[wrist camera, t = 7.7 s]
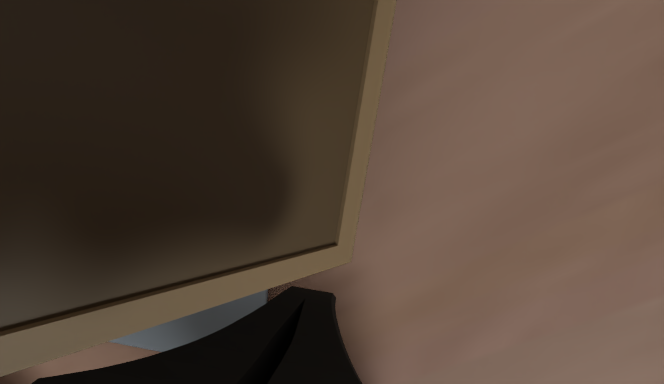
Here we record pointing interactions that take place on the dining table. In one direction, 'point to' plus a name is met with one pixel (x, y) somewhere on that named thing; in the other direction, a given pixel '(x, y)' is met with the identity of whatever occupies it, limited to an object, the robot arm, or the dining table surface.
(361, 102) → the photo frame
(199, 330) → the felt mat
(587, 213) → the dining table surface
